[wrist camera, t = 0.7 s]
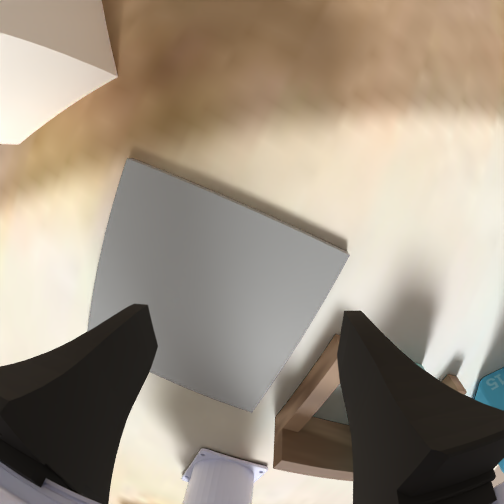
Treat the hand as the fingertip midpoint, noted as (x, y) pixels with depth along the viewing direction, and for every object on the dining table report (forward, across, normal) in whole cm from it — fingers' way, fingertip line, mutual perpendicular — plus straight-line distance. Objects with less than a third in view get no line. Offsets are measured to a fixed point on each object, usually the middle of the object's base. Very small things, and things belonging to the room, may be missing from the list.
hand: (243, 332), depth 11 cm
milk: (+12, +17, -16) cm, 26 cm away
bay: (+9, -10, +15) cm, 20 cm away
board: (+10, +5, +5) cm, 12 cm away
